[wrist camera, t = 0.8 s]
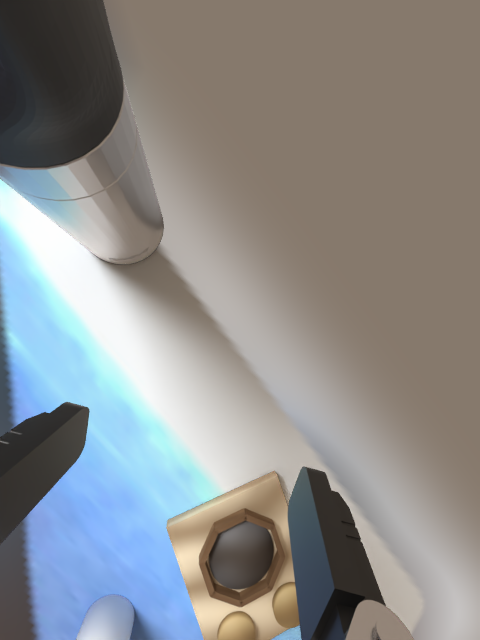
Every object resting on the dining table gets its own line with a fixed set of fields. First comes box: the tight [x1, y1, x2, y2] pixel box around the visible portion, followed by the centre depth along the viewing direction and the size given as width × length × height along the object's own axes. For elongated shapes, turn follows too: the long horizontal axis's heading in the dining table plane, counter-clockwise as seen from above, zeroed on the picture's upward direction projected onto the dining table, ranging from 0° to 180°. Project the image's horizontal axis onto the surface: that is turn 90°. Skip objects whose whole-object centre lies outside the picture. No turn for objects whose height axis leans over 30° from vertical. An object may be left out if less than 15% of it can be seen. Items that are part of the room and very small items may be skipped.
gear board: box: [166, 471, 300, 640], centre depth 29 cm, size 16×13×2 cm
